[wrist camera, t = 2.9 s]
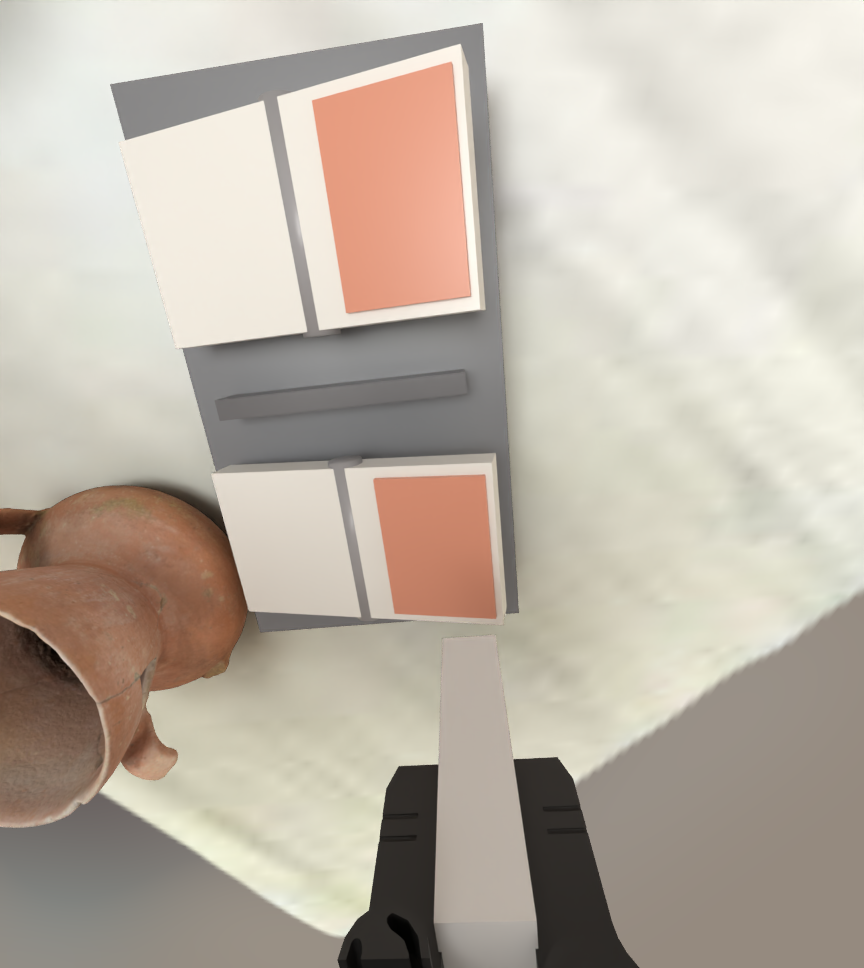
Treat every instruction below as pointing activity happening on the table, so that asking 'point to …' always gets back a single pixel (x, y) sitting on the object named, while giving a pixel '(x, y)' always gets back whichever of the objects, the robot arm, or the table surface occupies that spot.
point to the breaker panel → (357, 350)
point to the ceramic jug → (104, 640)
